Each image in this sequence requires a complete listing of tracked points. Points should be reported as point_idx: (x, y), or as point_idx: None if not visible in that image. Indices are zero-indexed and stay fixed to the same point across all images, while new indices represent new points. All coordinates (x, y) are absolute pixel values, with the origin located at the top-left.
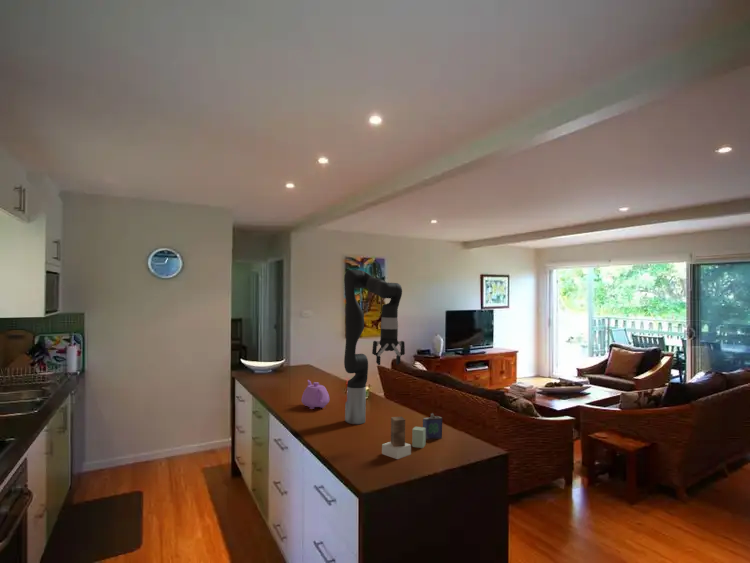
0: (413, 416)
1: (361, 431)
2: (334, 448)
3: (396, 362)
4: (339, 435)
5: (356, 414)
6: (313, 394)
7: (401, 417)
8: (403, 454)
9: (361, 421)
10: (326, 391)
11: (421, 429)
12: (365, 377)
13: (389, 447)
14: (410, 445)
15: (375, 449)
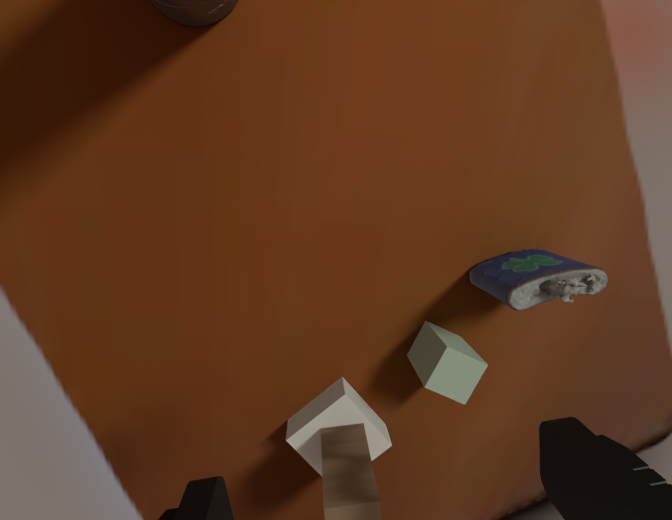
0: None
1: (220, 151)
2: (114, 364)
3: (559, 455)
4: (119, 206)
5: (177, 3)
6: None
7: (373, 513)
8: None
9: (219, 13)
10: None
11: (463, 389)
12: None
13: (310, 462)
14: (389, 445)
15: (268, 378)
